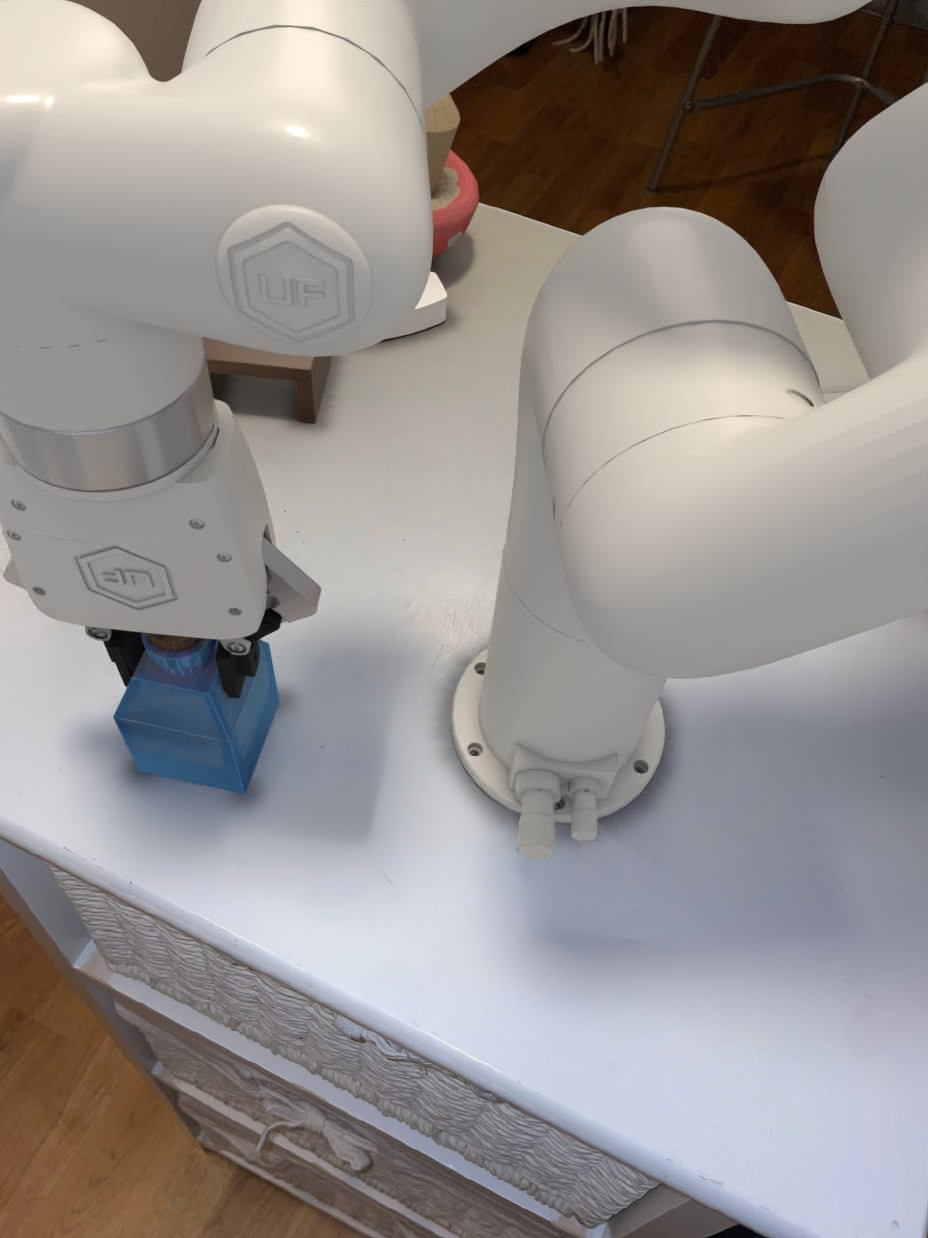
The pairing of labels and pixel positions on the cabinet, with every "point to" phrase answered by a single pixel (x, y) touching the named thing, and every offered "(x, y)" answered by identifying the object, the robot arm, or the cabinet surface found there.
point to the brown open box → (271, 371)
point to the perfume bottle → (195, 714)
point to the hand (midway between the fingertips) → (190, 667)
